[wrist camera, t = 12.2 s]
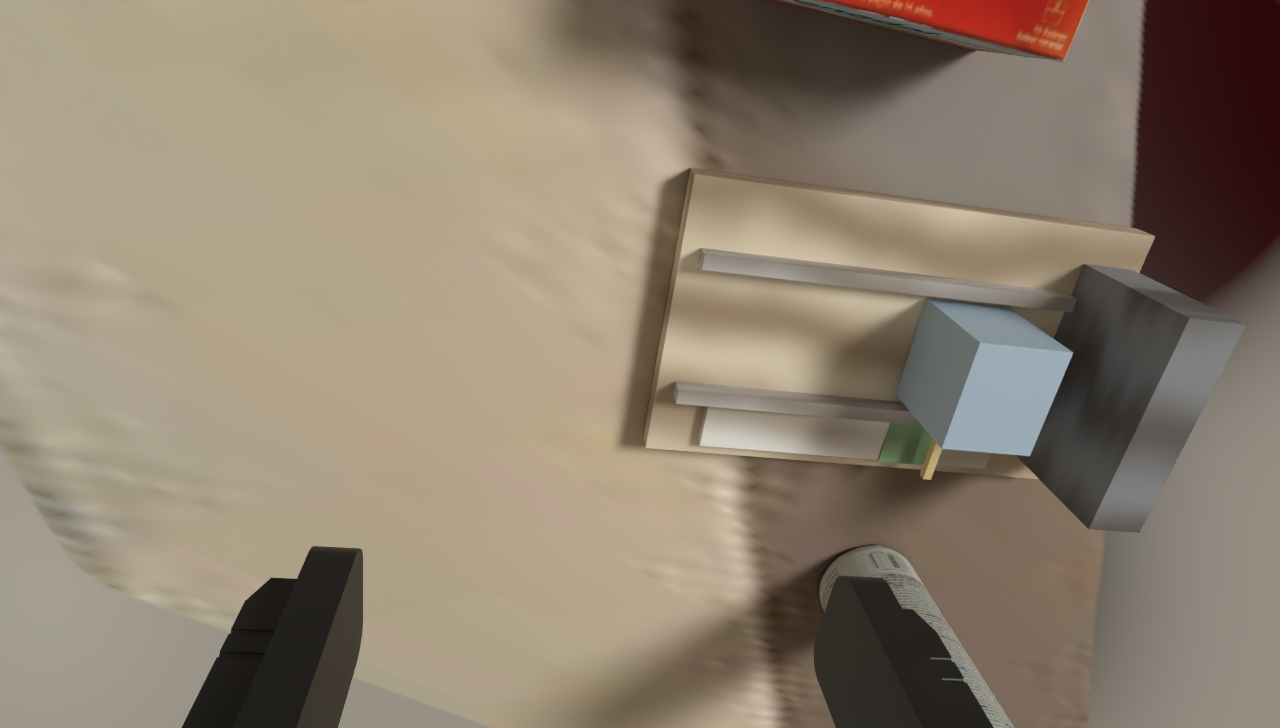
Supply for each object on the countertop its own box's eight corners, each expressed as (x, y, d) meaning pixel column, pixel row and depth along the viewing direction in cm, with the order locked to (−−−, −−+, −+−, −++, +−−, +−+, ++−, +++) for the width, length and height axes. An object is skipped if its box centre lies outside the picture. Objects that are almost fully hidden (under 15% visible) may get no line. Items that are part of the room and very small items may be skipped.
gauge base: (690, 168, 40) (726, 215, 32) (1136, 228, 44) (1276, 285, 36) (643, 434, 47) (662, 533, 38) (1035, 466, 51) (1131, 562, 42)
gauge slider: (926, 298, 43) (980, 342, 38) (1033, 311, 44) (1100, 355, 39) (874, 458, 47) (916, 518, 42) (973, 466, 48) (1026, 526, 43)
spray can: (798, 576, 53) (923, 878, 35) (883, 523, 52) (1059, 808, 34) (845, 631, 55) (985, 938, 38) (928, 582, 54) (1113, 875, 36)
